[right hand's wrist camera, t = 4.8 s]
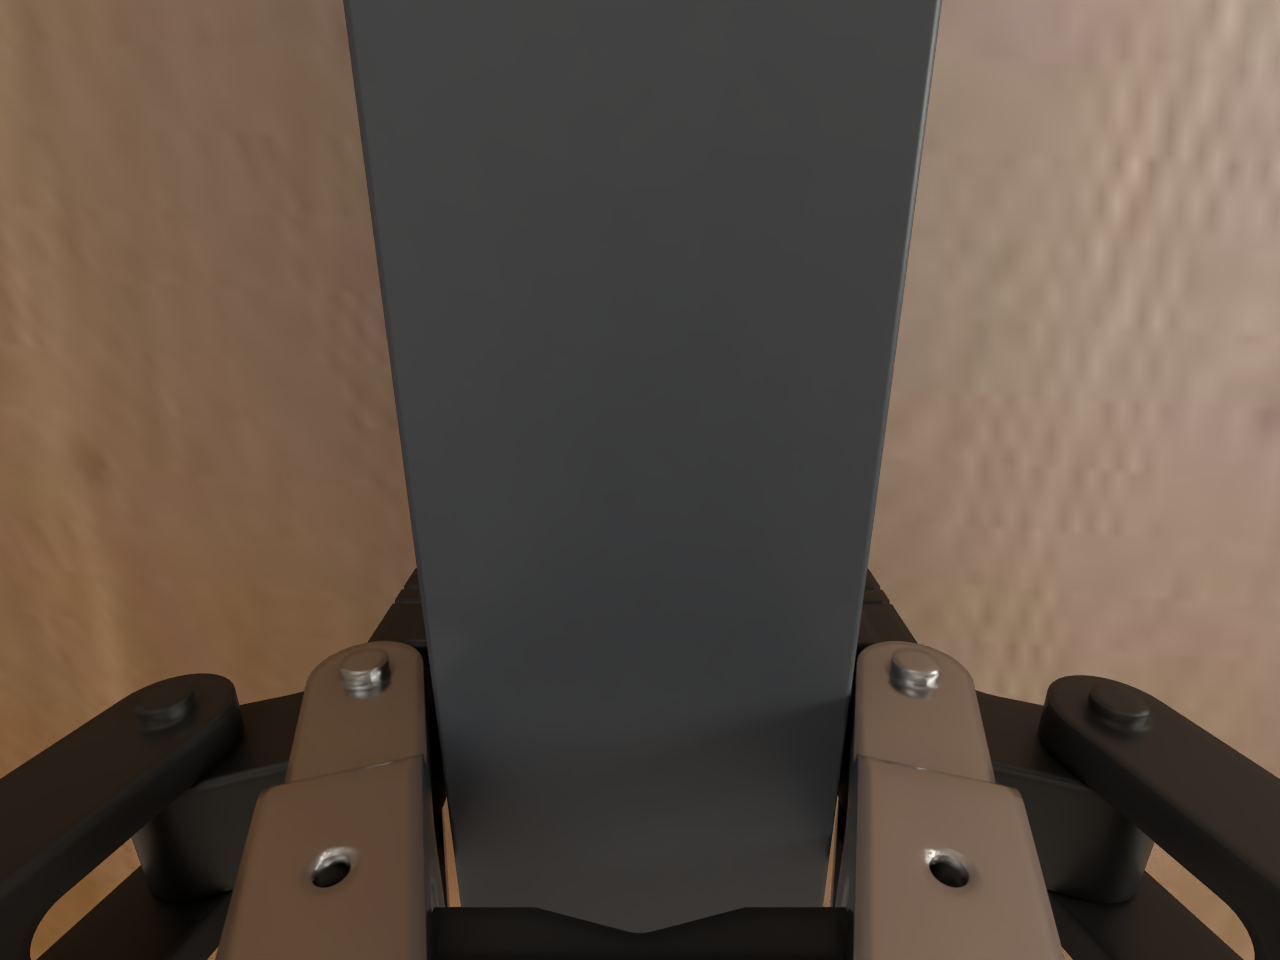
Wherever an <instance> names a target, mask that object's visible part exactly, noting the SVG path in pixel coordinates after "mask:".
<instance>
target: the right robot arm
mask: <svg viewBox="0 0 1280 960" xmlns="http://www.w3.org/2000/svg"><path fill="white" fill-rule="evenodd" d="M837 795H838V798H839V800H838V808H837V815H836V823H835V837H834V853H833V869H832V886H831V902H830V907H744V908H740V909H736V910H732V911H728V912H725V913H721V914H717V915H713V916H709V917H706V918H702V919H698V920H694V921H690V922H686V923H683V924H679V925H675V926H671V927H667V928H663V929H660V930H656V931H652V932H647V933H633V932H628V931H624V930H620V929H617V928H613V927H609V926H605V925H601V924H597V923H594V922H590V921H586V920H582V919H578V918H574V917H571V916H567V915H563V914H559V913H555V912H552V911H548V910H544V909H540V908H536V907H450V902H449V886H448V869H447V853H446V836H445V822H444V815H443V805H444V803H445V800H446V797H447V794H446V787H445V779H444V771H443V763H442V756H441V748H440V740H439V733H438V725H437V717H436V710H435V702H434V694H433V687H432V679H431V671H430V664H429V656H428V648H427V640H426V633H425V625H424V617H423V610H422V602H421V594H420V587H419V579H418V571H417V568H416V569H415V570H414V572H413V573H412V575H411V576H410V578H409V579H408V581H407V582H406V584H405V585H404V589H402V590H401V592H400V593H399V595H398V596H397V598H396V599H395V604H392V606H391V607H390V609H389V610H388V612H387V613H386V615H385V616H384V618H383V619H382V621H381V623H380V624H379V626H378V627H377V629H376V630H375V632H374V633H373V635H372V636H371V638H370V640H369V641H368V643H364V644H359V645H356V646H352V647H349V648H347V649H344V650H341V651H339V652H337V653H335V654H333V655H332V656H330V657H328V658H327V659H325V660H324V661H323V662H321V663H320V664H319V665H318V666H317V667H316V668H315V669H314V670H313V671H312V672H311V674H310V675H309V677H308V680H307V682H306V687H305V691H303V692H300V693H296V694H292V695H288V696H283V697H278V698H273V699H268V700H263V701H258V702H253V703H248V704H243V705H239V702H238V699H237V695H236V691H235V688H234V685H233V683H232V682H231V681H230V680H228V679H227V678H225V677H223V676H219V675H215V674H189V675H183V676H177V677H173V678H170V679H166V680H163V681H160V682H157V683H154V684H151V685H149V686H147V687H144V688H142V689H140V690H138V691H136V692H134V693H132V694H130V695H129V696H127V697H125V698H124V699H122V700H120V701H119V702H117V703H116V704H114V705H113V706H111V707H110V708H108V709H107V710H105V711H104V712H102V713H101V714H99V715H98V716H96V717H94V718H93V719H91V720H90V721H88V722H87V723H85V724H84V725H82V726H81V727H79V728H78V729H76V730H75V731H73V732H72V733H70V734H68V735H67V736H65V737H64V738H62V739H61V740H59V741H58V742H56V743H55V744H53V745H52V746H50V747H49V748H47V749H46V750H44V751H42V752H41V753H39V754H38V755H36V756H35V757H33V758H32V759H30V760H29V761H27V762H26V763H24V764H23V765H21V766H20V767H18V768H16V769H15V770H13V771H12V772H10V773H9V774H7V775H6V776H4V777H3V778H1V779H0V960H31V958H30V946H31V941H32V938H33V935H34V933H35V931H36V929H37V926H38V925H39V923H40V921H41V920H42V918H43V917H44V915H45V914H46V913H47V911H48V910H49V909H50V908H51V907H52V906H53V904H54V903H55V902H56V901H57V900H59V899H60V898H61V897H62V896H63V895H64V894H65V893H66V892H68V891H69V890H70V889H71V888H72V887H73V886H75V885H76V884H77V883H78V882H79V881H80V880H82V879H83V878H84V877H85V876H86V875H87V874H89V873H90V872H91V871H92V870H93V869H95V868H96V867H97V866H98V865H99V864H100V863H102V862H103V861H104V860H105V859H106V858H107V857H109V856H110V855H111V854H112V853H113V852H114V851H116V850H117V849H118V848H119V847H120V846H121V845H123V844H124V843H125V842H126V841H127V840H128V839H130V838H132V840H133V843H134V846H135V849H136V852H137V855H138V858H139V860H140V863H141V866H140V867H138V868H137V869H136V870H135V871H134V872H133V873H132V874H131V875H130V876H129V877H127V878H126V879H125V880H124V881H123V882H122V883H121V884H120V885H119V886H117V887H116V888H115V889H114V890H113V891H112V892H111V893H110V894H109V895H108V896H106V897H105V898H104V899H103V900H102V901H101V902H100V903H99V904H98V905H96V906H95V907H94V908H93V909H92V910H91V911H90V912H89V913H88V914H87V915H85V916H84V917H83V918H82V919H81V920H80V921H79V922H78V923H77V924H75V925H74V926H73V927H72V928H71V929H70V930H69V931H68V932H67V933H66V934H64V935H63V936H62V937H61V938H60V939H59V940H58V941H57V942H56V943H54V944H53V945H52V946H51V947H50V948H49V949H48V950H47V951H46V952H45V953H43V954H42V955H41V956H40V957H39V958H38V959H37V960H207V959H208V958H209V957H210V955H211V954H212V953H213V952H214V951H215V950H216V949H217V947H218V946H219V947H218V950H217V954H216V958H215V960H1065V958H1064V954H1063V950H1062V947H1063V949H1064V950H1065V951H1066V952H1067V953H1068V954H1069V955H1070V957H1071V958H1072V959H1073V960H1243V959H1242V958H1241V957H1240V956H1239V955H1238V954H1237V953H1235V952H1234V951H1233V950H1232V949H1231V948H1230V947H1229V946H1228V945H1227V944H1226V943H1224V942H1223V941H1222V940H1221V939H1220V938H1219V937H1218V936H1217V935H1216V934H1214V933H1213V932H1212V931H1211V930H1210V929H1209V928H1208V927H1207V926H1206V925H1205V924H1203V923H1202V922H1201V921H1200V920H1199V919H1198V918H1197V917H1196V916H1195V915H1194V914H1192V913H1191V912H1190V911H1189V910H1188V909H1187V908H1186V907H1185V906H1184V905H1182V904H1181V903H1180V902H1179V901H1178V900H1177V899H1176V898H1175V897H1174V896H1172V895H1171V894H1170V893H1169V892H1168V891H1167V890H1166V889H1165V888H1164V887H1163V886H1161V885H1160V884H1159V883H1158V882H1157V881H1156V880H1155V879H1154V878H1153V877H1151V876H1150V875H1149V874H1148V873H1147V872H1146V871H1145V867H1146V864H1147V861H1148V859H1149V856H1150V853H1151V850H1152V847H1153V845H1154V842H1155V843H1156V844H1157V845H1159V846H1160V847H1161V848H1162V849H1163V850H1164V851H1166V852H1167V853H1168V854H1169V855H1170V856H1171V857H1173V858H1174V859H1175V860H1176V861H1177V862H1178V863H1180V864H1181V865H1182V866H1183V867H1184V868H1186V869H1187V870H1188V871H1189V872H1190V873H1191V874H1193V875H1194V876H1195V877H1196V878H1197V879H1198V880H1200V881H1201V882H1202V883H1203V884H1204V885H1205V886H1207V887H1208V888H1209V889H1210V890H1211V891H1212V892H1214V893H1215V894H1216V895H1217V896H1218V897H1219V898H1221V899H1222V900H1223V901H1224V902H1225V903H1226V904H1227V905H1228V906H1229V907H1230V908H1231V909H1232V910H1233V911H1234V912H1235V913H1236V915H1237V916H1238V917H1239V919H1240V920H1241V921H1242V923H1243V924H1244V926H1245V928H1246V929H1247V931H1248V933H1249V936H1250V938H1251V940H1252V943H1253V946H1254V952H1255V960H1280V779H1279V778H1277V777H1276V776H1274V775H1273V774H1271V773H1270V772H1268V771H1267V770H1265V769H1264V768H1262V767H1261V766H1259V765H1257V764H1256V763H1254V762H1253V761H1251V760H1250V759H1248V758H1247V757H1245V756H1244V755H1242V754H1241V753H1239V752H1238V751H1236V750H1235V749H1233V748H1231V747H1230V746H1228V745H1227V744H1225V743H1224V742H1222V741H1221V740H1219V739H1218V738H1216V737H1215V736H1213V735H1212V734H1210V733H1209V732H1207V731H1205V730H1204V729H1202V728H1201V727H1199V726H1198V725H1196V724H1195V723H1193V722H1192V721H1190V720H1189V719H1187V718H1186V717H1184V716H1183V715H1181V714H1179V713H1178V712H1176V711H1175V710H1173V709H1172V708H1170V707H1169V706H1167V705H1166V704H1164V703H1163V702H1161V701H1159V700H1158V699H1156V698H1154V697H1153V696H1151V695H1149V694H1147V693H1145V692H1143V691H1141V690H1139V689H1137V688H1134V687H1132V686H1129V685H1126V684H1123V683H1120V682H1117V681H1114V680H1110V679H1106V678H1101V677H1095V676H1085V675H1074V676H1066V677H1063V678H1060V679H1057V680H1056V681H1054V682H1053V683H1052V684H1051V685H1050V686H1049V688H1048V691H1047V695H1046V699H1045V703H1044V706H1043V705H1038V704H1033V703H1028V702H1023V701H1018V700H1013V699H1008V698H1003V697H998V696H994V695H990V694H986V693H983V692H980V691H976V690H975V686H974V682H973V680H972V677H971V675H970V674H969V672H968V671H967V670H966V669H965V668H964V667H963V666H962V665H961V664H960V663H959V662H957V661H956V660H955V659H953V658H952V657H950V656H948V655H947V654H945V653H943V652H941V651H939V650H936V649H933V648H931V647H928V646H924V645H921V644H918V643H917V642H916V640H915V639H914V637H913V636H912V634H911V633H910V631H909V630H908V628H907V627H906V625H905V624H904V622H903V621H902V619H901V618H900V616H899V615H898V613H897V612H896V610H895V608H894V607H893V605H892V604H889V599H888V598H887V596H886V595H885V593H884V592H883V590H880V586H879V584H878V583H877V581H876V580H875V578H874V577H873V575H872V574H871V572H870V570H869V569H867V574H866V581H865V589H864V597H863V604H862V612H861V619H860V627H859V635H858V642H857V650H856V657H855V665H854V672H853V680H852V688H851V695H850V703H849V710H848V718H847V726H846V733H845V741H844V748H843V756H842V764H841V771H840V779H839V786H838V794H837ZM1061 946H1062V947H1061Z"/></svg>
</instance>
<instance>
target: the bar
mask: <svg viewBox="0 0 1280 960" xmlns="http://www.w3.org/2000/svg"><path fill="white" fill-rule="evenodd" d="M343 2H344V10H345V18H346V25H347V33H348V41H349V48H350V56H351V64H352V72H353V79H354V87H355V95H356V102H357V110H358V118H359V125H360V133H361V141H362V148H363V156H364V164H365V171H366V179H367V187H368V195H369V202H370V210H371V218H372V225H373V233H374V241H375V248H376V256H377V264H378V271H379V279H380V287H381V295H382V302H383V310H384V318H385V325H386V333H387V341H388V348H389V356H390V364H391V371H392V379H393V387H394V394H395V402H396V410H397V418H398V425H399V433H400V441H401V448H402V456H403V464H404V471H405V479H406V487H407V494H408V502H409V510H410V517H411V525H412V533H413V541H414V548H415V556H416V564H417V571H418V579H419V587H420V594H421V602H422V610H423V617H424V625H425V633H426V640H427V648H428V656H429V664H430V671H431V679H432V687H433V694H434V702H435V710H436V717H437V725H438V733H439V740H440V748H441V756H442V763H443V771H444V779H445V787H446V794H447V802H448V810H449V817H450V825H451V833H452V840H453V848H454V856H455V863H456V871H457V879H458V886H459V894H460V902H461V907H536V908H540V909H544V910H548V911H552V912H555V913H559V914H563V915H567V916H571V917H574V918H578V919H582V920H586V921H590V922H594V923H597V924H601V925H605V926H609V927H613V928H617V929H620V930H624V931H628V932H633V933H647V932H652V931H656V930H660V929H663V928H667V927H671V926H675V925H679V924H683V923H686V922H690V921H694V920H698V919H702V918H706V917H709V916H713V915H717V914H721V913H725V912H728V911H732V910H736V909H740V908H744V907H823V900H824V893H825V885H826V878H827V870H828V862H829V855H830V847H831V840H832V832H833V824H834V817H835V809H836V802H837V794H838V786H839V779H840V771H841V764H842V756H843V748H844V741H845V733H846V726H847V718H848V710H849V703H850V695H851V688H852V680H853V672H854V665H855V657H856V650H857V642H858V635H859V627H860V619H861V612H862V604H863V597H864V589H865V581H866V574H867V566H868V559H869V551H870V543H871V536H872V528H873V521H874V513H875V505H876V498H877V490H878V483H879V475H880V467H881V460H882V452H883V445H884V437H885V429H886V422H887V414H888V407H889V399H890V391H891V384H892V376H893V369H894V361H895V354H896V346H897V338H898V331H899V323H900V316H901V308H902V300H903V293H904V285H905V278H906V270H907V262H908V255H909V247H910V240H911V232H912V224H913V217H914V209H915V202H916V194H917V186H918V179H919V171H920V164H921V156H922V148H923V141H924V133H925V126H926V118H927V110H928V103H929V95H930V88H931V80H932V73H933V65H934V57H935V50H936V42H937V35H938V27H939V19H940V12H941V4H942V0H343Z"/></svg>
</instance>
